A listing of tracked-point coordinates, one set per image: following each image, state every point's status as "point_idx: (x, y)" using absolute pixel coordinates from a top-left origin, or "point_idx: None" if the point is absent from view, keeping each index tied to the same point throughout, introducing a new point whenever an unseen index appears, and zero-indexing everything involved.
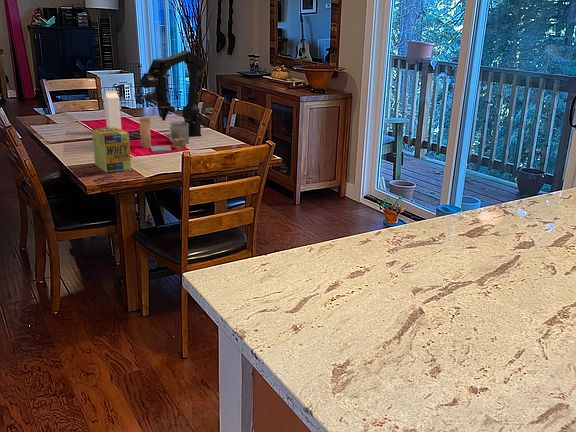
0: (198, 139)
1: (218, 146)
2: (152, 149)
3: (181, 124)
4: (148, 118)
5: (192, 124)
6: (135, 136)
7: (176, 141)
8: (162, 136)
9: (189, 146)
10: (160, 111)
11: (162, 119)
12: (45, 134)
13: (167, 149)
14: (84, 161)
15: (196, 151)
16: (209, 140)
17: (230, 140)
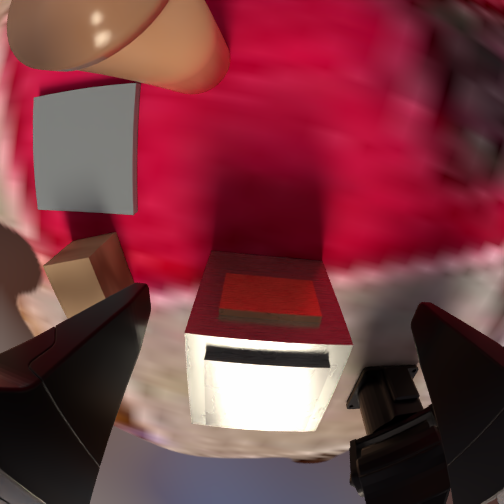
0: None
1: (130, 403)
2: (55, 98)
3: (206, 402)
4: (27, 52)
5: (378, 427)
6: (497, 93)
7: (50, 262)
8: (444, 241)
9: None
10: (43, 360)
11: (124, 289)
12: None
13: (43, 186)
14: None
15: (48, 312)
16: None
17: (224, 450)
